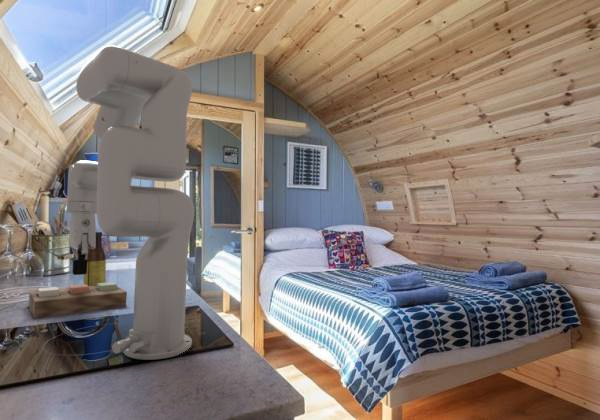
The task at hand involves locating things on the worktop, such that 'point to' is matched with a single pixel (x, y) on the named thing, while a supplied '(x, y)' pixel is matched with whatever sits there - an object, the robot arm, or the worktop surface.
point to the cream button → (48, 292)
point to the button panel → (75, 301)
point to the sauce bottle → (96, 264)
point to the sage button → (106, 286)
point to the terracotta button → (78, 289)
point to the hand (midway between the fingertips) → (79, 274)
